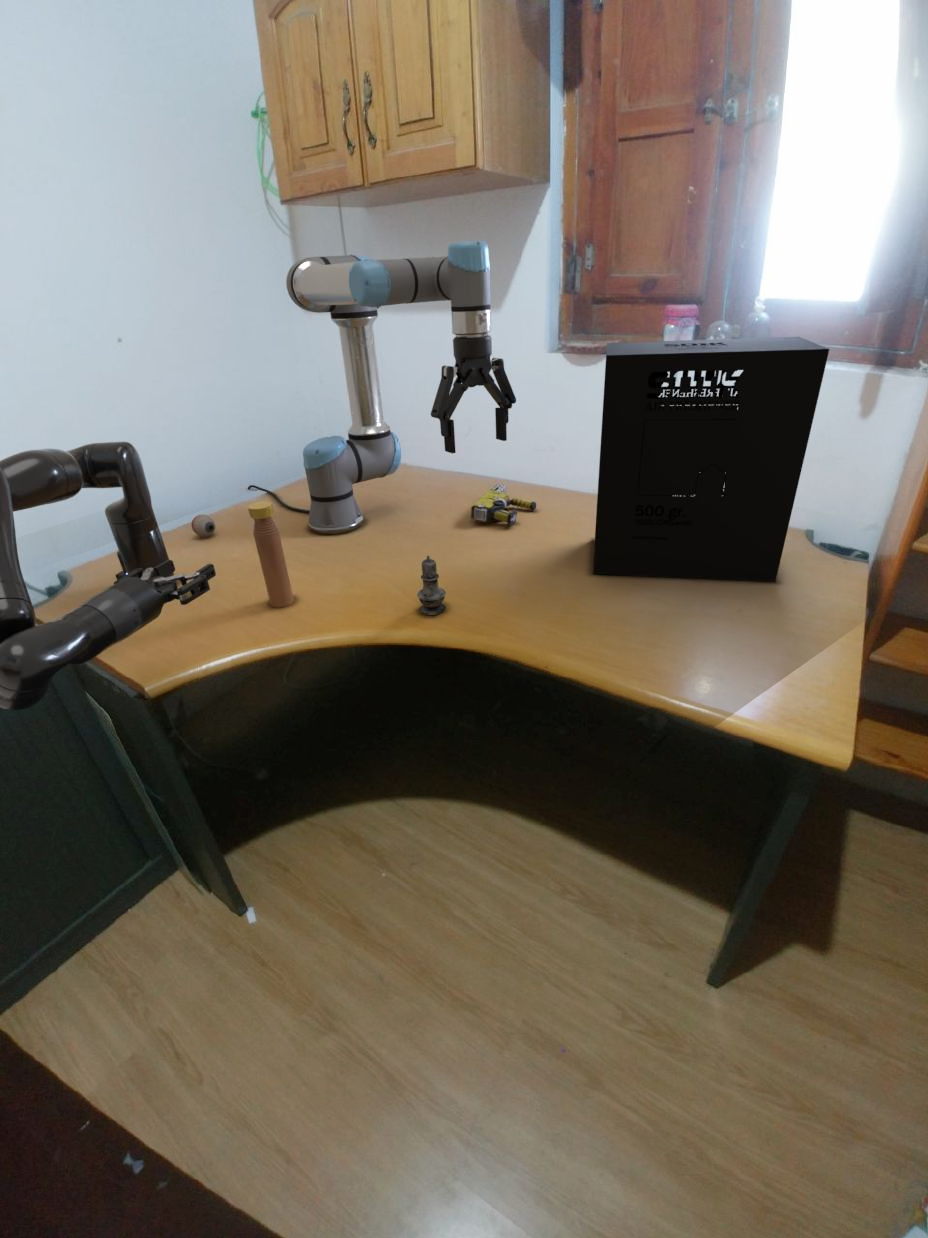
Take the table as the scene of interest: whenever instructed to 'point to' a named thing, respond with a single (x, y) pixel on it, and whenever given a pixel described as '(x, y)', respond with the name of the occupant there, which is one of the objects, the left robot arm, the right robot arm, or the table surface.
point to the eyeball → (203, 525)
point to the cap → (260, 510)
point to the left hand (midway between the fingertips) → (192, 566)
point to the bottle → (272, 562)
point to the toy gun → (498, 506)
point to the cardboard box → (703, 455)
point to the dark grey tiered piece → (431, 589)
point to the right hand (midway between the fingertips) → (476, 445)
